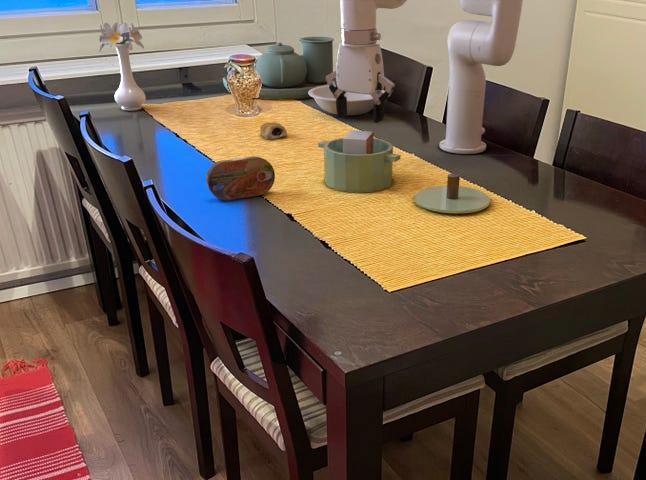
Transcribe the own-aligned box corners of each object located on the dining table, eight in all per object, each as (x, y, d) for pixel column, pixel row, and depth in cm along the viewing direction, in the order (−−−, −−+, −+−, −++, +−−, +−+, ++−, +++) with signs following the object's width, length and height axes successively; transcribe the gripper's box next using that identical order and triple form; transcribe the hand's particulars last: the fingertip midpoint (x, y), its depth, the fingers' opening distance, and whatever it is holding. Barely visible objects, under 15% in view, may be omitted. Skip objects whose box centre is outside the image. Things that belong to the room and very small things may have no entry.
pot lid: (435, 186, 173) (437, 159, 169) (501, 199, 166) (504, 171, 162) (400, 206, 160) (401, 178, 157) (470, 221, 153) (472, 192, 150)
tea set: (304, 74, 286) (303, 27, 277) (357, 93, 257) (357, 42, 249) (206, 83, 267) (201, 34, 259) (251, 105, 239) (247, 51, 230)
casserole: (339, 166, 185) (339, 131, 180) (413, 180, 176) (414, 145, 171) (302, 182, 173) (301, 146, 169) (379, 199, 164) (380, 161, 160)
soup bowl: (400, 112, 235) (400, 90, 232) (357, 127, 218) (357, 104, 214) (338, 101, 246) (338, 81, 242) (293, 115, 228) (292, 93, 225)
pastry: (255, 132, 211) (254, 118, 209) (277, 130, 214) (276, 116, 212) (266, 140, 204) (265, 126, 202) (289, 138, 206) (289, 124, 205)
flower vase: (147, 100, 243) (135, 17, 230) (156, 113, 228) (143, 24, 215) (105, 103, 238) (91, 18, 225) (112, 116, 224) (96, 26, 211)
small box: (366, 186, 170) (366, 139, 165) (342, 184, 171) (342, 138, 166) (373, 175, 177) (374, 131, 172) (351, 173, 178) (350, 129, 173)
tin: (210, 203, 160) (206, 164, 156) (206, 198, 162) (202, 160, 158) (276, 193, 166) (274, 156, 162) (271, 189, 169) (269, 152, 164)
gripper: (402, 38, 157) (401, 120, 166) (334, 31, 165) (337, 110, 174) (384, 43, 152) (384, 128, 161) (315, 36, 159) (319, 117, 168)
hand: (360, 118), depth 167 cm, fingers open, 9 cm apart
